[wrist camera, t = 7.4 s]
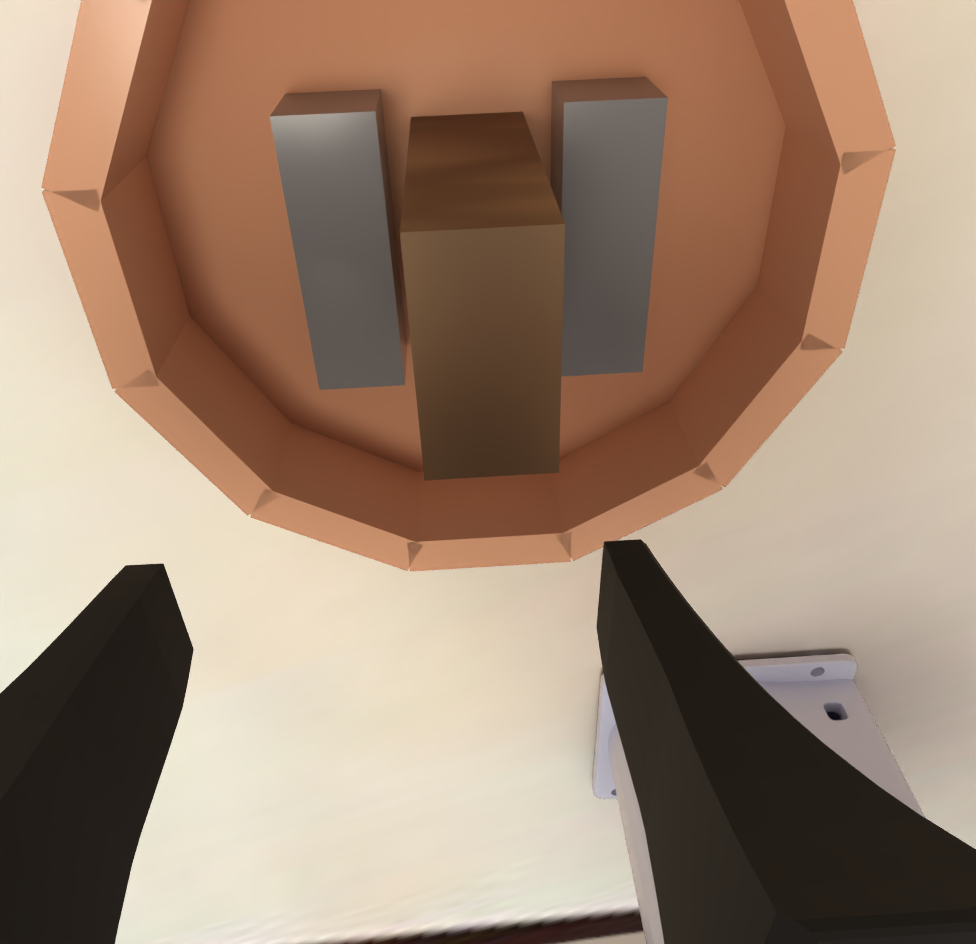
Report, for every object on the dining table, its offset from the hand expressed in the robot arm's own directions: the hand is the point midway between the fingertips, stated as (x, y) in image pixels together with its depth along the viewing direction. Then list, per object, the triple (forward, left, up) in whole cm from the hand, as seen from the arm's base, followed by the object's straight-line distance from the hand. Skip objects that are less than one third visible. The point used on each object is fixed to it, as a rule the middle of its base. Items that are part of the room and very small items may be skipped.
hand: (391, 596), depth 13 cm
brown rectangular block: (-2, -3, -9) cm, 10 cm away
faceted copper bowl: (-2, -3, -10) cm, 10 cm away
